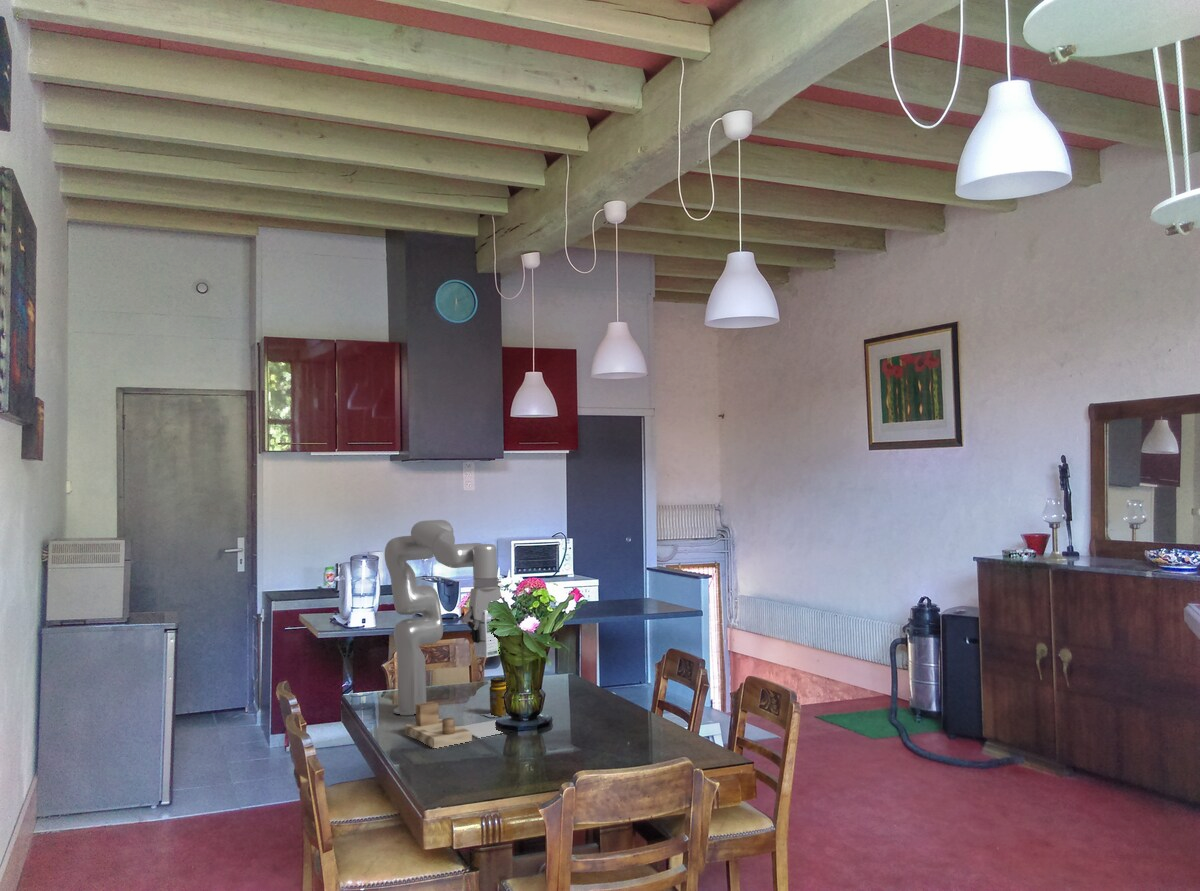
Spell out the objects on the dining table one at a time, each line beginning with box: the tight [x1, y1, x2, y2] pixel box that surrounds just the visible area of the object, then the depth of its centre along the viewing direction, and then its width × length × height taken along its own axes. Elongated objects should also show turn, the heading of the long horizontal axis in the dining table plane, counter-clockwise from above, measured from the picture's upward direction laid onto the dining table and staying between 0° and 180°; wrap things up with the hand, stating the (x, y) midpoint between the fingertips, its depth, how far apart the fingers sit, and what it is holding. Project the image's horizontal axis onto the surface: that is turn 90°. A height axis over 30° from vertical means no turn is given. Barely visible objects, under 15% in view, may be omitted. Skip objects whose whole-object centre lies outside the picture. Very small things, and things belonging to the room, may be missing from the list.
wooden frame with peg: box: [404, 701, 473, 749], centre depth 284 cm, size 22×12×9 cm, turn 33°
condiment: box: [480, 676, 507, 717], centre depth 313 cm, size 7×8×12 cm
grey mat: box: [459, 719, 503, 739], centre depth 292 cm, size 16×16×1 cm
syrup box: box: [474, 610, 501, 658], centre depth 294 cm, size 6×6×14 cm
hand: (486, 640), depth 294 cm, fingers closed on syrup box, 6 cm apart
